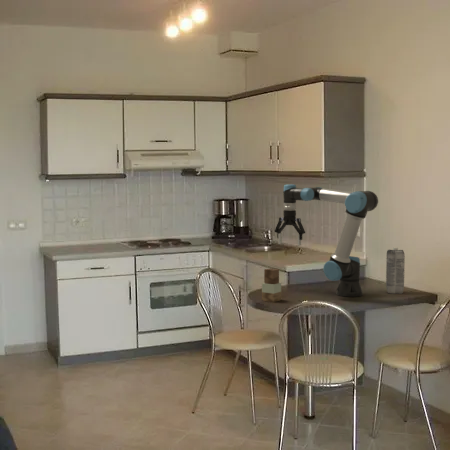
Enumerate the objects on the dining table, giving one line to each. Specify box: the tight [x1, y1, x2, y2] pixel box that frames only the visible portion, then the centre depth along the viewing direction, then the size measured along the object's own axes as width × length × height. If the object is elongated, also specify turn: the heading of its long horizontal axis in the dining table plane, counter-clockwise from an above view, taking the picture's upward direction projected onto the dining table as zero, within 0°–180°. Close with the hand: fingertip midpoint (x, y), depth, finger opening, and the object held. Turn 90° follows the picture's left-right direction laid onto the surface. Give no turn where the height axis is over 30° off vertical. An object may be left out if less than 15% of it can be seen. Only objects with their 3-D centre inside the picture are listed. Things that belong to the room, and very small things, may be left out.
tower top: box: [261, 282, 282, 294], centre depth 407 cm, size 8×8×5 cm
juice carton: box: [385, 247, 406, 295], centre depth 429 cm, size 9×10×27 cm
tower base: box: [261, 291, 282, 303], centre depth 408 cm, size 8×8×5 cm
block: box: [263, 267, 280, 284], centre depth 407 cm, size 6×6×8 cm
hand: (289, 244), depth 434 cm, fingers open, 13 cm apart
